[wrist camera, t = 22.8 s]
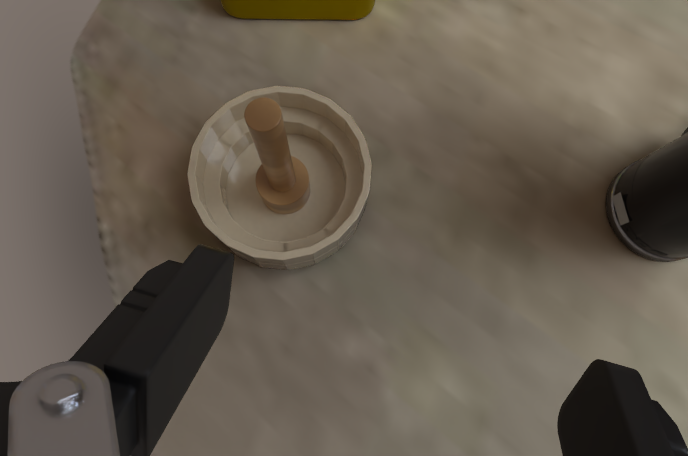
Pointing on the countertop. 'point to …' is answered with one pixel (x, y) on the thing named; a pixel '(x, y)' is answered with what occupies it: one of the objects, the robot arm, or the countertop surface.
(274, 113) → the wooden pestle
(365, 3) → the element tile
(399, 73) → the countertop surface
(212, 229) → the bowl
